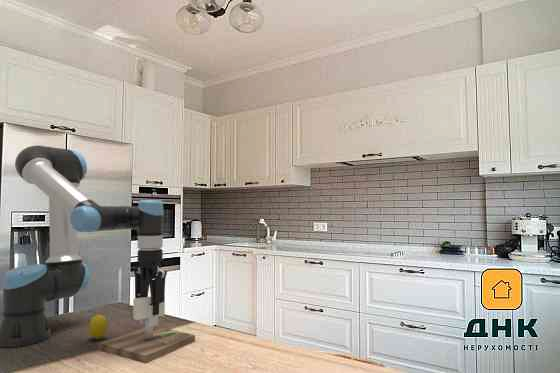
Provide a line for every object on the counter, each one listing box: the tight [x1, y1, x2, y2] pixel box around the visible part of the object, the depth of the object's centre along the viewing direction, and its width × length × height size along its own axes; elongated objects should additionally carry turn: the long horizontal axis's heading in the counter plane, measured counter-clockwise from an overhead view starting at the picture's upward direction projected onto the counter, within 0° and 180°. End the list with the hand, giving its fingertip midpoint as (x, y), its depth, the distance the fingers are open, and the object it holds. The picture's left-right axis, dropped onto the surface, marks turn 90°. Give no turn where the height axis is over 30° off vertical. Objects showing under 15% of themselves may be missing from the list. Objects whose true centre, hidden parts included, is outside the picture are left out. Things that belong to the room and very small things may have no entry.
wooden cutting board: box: [98, 325, 196, 364], centre depth 121 cm, size 20×20×2 cm
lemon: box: [88, 313, 108, 340], centre depth 127 cm, size 6×6×8 cm
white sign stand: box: [132, 295, 178, 339], centre depth 122 cm, size 14×2×12 cm, turn 126°
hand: (148, 324), depth 121 cm, fingers open, 4 cm apart
